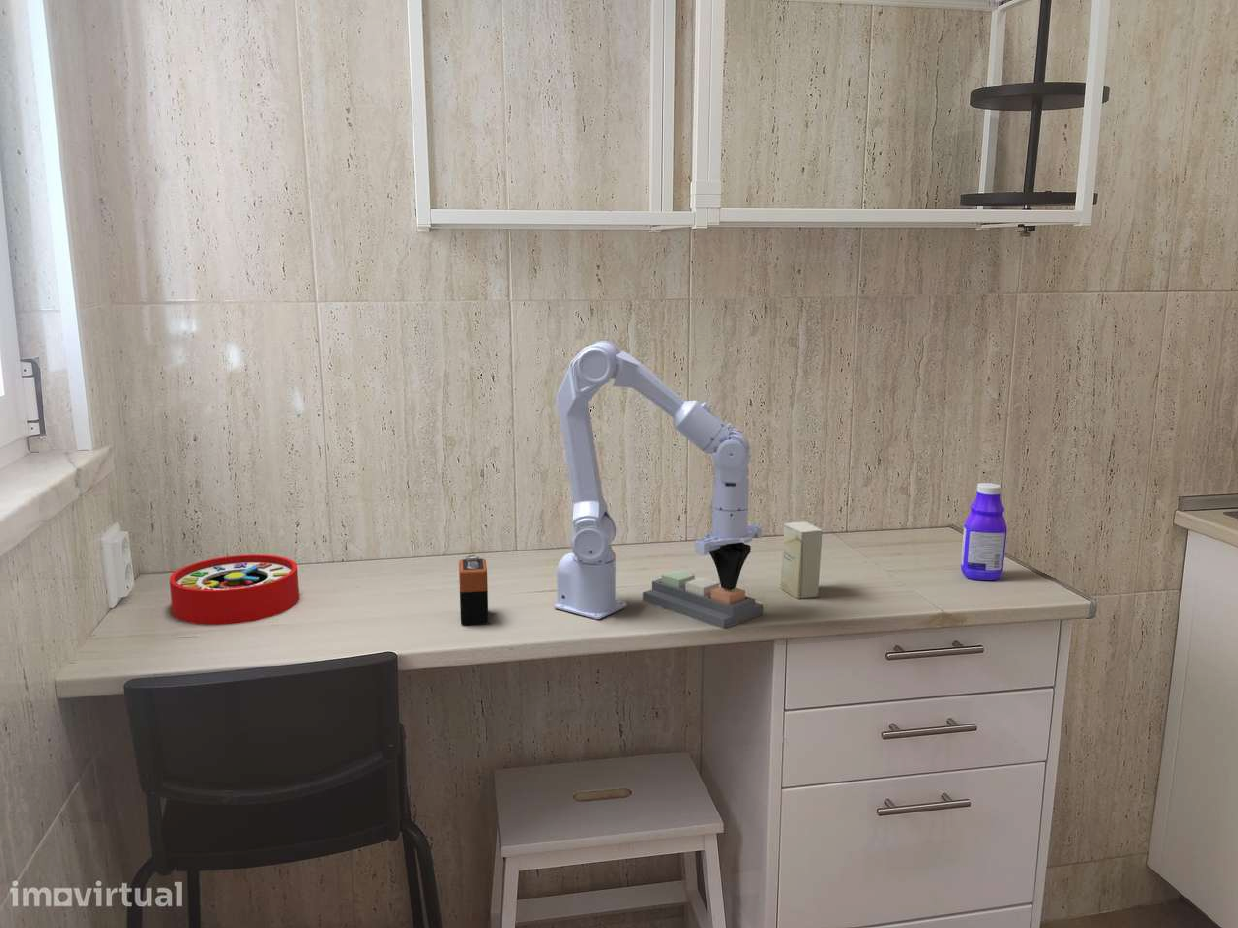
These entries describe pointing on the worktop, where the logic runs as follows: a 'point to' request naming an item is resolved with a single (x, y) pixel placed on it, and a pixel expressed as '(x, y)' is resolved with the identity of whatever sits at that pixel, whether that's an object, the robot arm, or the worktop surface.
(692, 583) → the cream button
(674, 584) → the green button
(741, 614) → the button panel
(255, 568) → the toy clock
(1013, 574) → the worktop surface
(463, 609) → the battery
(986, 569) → the bottle
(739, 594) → the terracotta button
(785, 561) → the skincare box
